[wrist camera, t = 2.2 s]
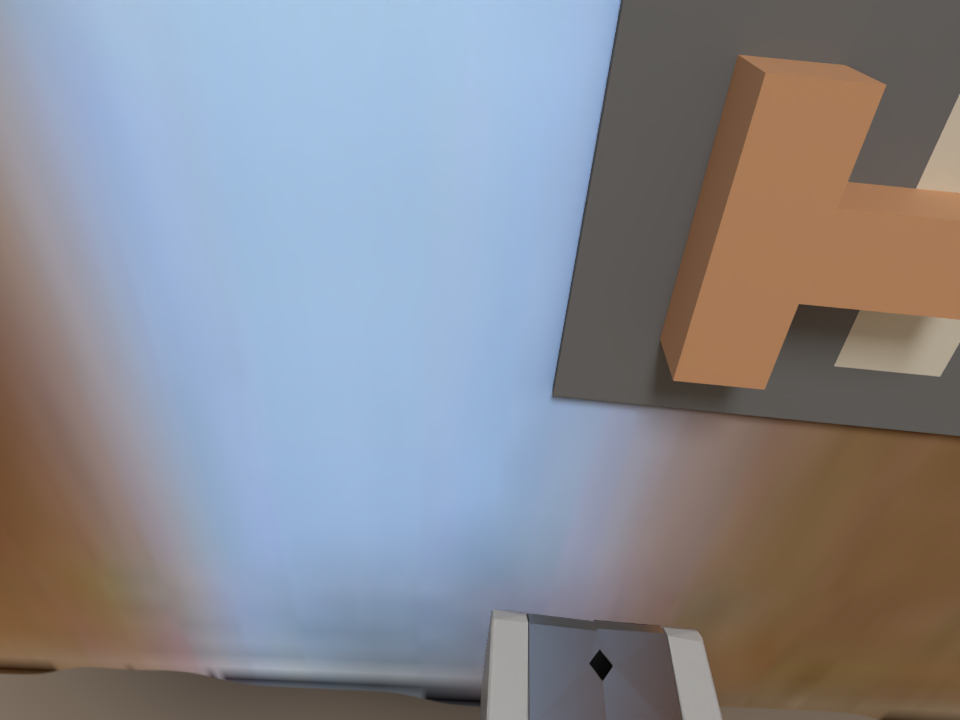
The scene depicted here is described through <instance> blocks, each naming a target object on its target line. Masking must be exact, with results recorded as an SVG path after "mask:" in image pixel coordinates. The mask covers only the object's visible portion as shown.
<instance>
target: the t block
mask: <svg viewBox="0 0 960 720" xmlns="http://www.w3.org/2000/svg"><path fill="white" fill-rule="evenodd" d="M885 87H886V84H884V83H882V82H880V81H878V80H875V79H873V78H871V77H869V76H867V75H865V74H863V73H861V72H859V71H857V70H854V69H852V68H850V67H848V66H846V65H839V64H829V63H819V62H808V61H798V60H788V59H778V58H767V57H757V56H747V55H738V57H737V61H736V64H735V68H734V72H733V75H732V79H731V82H730V86H729V90H728V93H727V97H726V101H725V104H724V108H723V112H722V115H721V119H720V122H719V126H718V130H717V133H716V137H715V141H714V144H713V148H712V152H711V155H710V159H709V162H708V166H707V170H706V173H705V177H704V181H703V184H702V188H701V192H700V195H699V199H698V202H697V206H696V210H695V213H694V217H693V221H692V224H691V228H690V232H689V235H688V239H687V242H686V246H685V250H684V253H683V257H682V261H681V264H680V268H679V271H678V275H677V279H676V282H675V286H674V290H673V293H672V297H671V301H670V304H669V308H668V311H667V315H666V319H665V322H664V326H663V330H662V333H661V337H660V341H661V344H662V347H663V350H664V353H665V356H666V360H667V363H668V366H669V369H670V372H671V376H672V379H673V381H681V382H692V383H702V384H712V385H722V386H732V387H742V388H752V389H763V390H765V387H766V385H767V382H768V380H769V377H770V375H771V372H772V370H773V367H774V365H775V362H776V360H777V357H778V355H779V352H780V350H781V347H782V345H783V342H784V340H785V337H786V335H787V332H788V330H789V327H790V325H791V322H792V320H793V317H794V315H795V312H796V310H797V307H798V305H799V304H805V305H815V306H825V307H835V308H845V309H855V310H866V311H876V312H886V313H896V314H906V315H917V316H927V317H937V318H947V319H957V320H960V193H956V192H946V191H936V190H925V189H915V188H905V187H895V186H885V185H874V184H864V183H854V182H848V180H849V177H850V175H851V172H852V170H853V167H854V165H855V162H856V160H857V157H858V155H859V152H860V150H861V147H862V145H863V142H864V140H865V137H866V135H867V132H868V130H869V127H870V125H871V122H872V120H873V117H874V115H875V112H876V110H877V107H878V105H879V102H880V100H881V97H882V95H883V92H884V90H885Z"/></svg>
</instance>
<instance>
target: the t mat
mask: <svg viewBox="0 0 960 720" xmlns="http://www.w3.org/2000/svg"><path fill="white" fill-rule="evenodd" d="M738 55H747V56H757V57H767V58H778V59H788V60H798V61H808V62H819V63H829V64H839V65H846V66H848V67H850V68H852V69H854V70H857V71H859V72H861V73H863V74H865V75H867V76H869V77H871V78H873V79H875V80H878V81H880V82H882V83H884V84H886V87H885V90H884V92H883V95H882V97H881V100H880V102H879V105H878V107H877V110H876V112H875V115H874V117H873V120H872V122H871V125H870V127H869V130H868V132H867V135H866V137H865V140H864V142H863V145H862V147H861V150H860V152H859V155H858V157H857V160H856V162H855V165H854V167H853V170H852V172H851V175H850V177H849V180H848V182H854V183H864V184H874V185H885V186H895V187H905V188H915V189H925V190H936V191H946V192H956V193H960V0H621V5H620V11H619V16H618V22H617V28H616V33H615V39H614V45H613V50H612V56H611V62H610V67H609V73H608V79H607V84H606V90H605V96H604V101H603V107H602V113H601V118H600V124H599V130H598V135H597V141H596V147H595V152H594V158H593V164H592V169H591V175H590V181H589V186H588V192H587V198H586V203H585V209H584V215H583V220H582V226H581V232H580V237H579V243H578V249H577V254H576V260H575V266H574V271H573V277H572V283H571V288H570V294H569V300H568V305H567V311H566V317H565V322H564V328H563V334H562V339H561V345H560V351H559V356H558V362H557V368H556V373H555V379H554V384H553V396H559V397H569V398H579V399H589V400H600V401H610V402H620V403H630V404H640V405H650V406H660V407H670V408H681V409H691V410H701V411H711V412H721V413H731V414H741V415H751V416H762V417H772V418H782V419H792V420H802V421H812V422H822V423H833V424H843V425H853V426H863V427H873V428H883V429H893V430H903V431H914V432H924V433H934V434H944V435H954V436H960V320H957V319H947V318H937V317H927V316H917V315H906V314H896V313H886V312H876V311H866V310H855V309H845V308H835V307H825V306H815V305H805V304H799V305H798V307H797V310H796V312H795V315H794V317H793V320H792V322H791V325H790V327H789V330H788V332H787V335H786V337H785V340H784V342H783V345H782V347H781V350H780V352H779V355H778V357H777V360H776V362H775V365H774V367H773V370H772V372H771V375H770V377H769V380H768V382H767V385H766V387H765V390H763V389H752V388H742V387H732V386H722V385H712V384H702V383H692V382H681V381H673V379H672V376H671V372H670V369H669V366H668V363H667V360H666V356H665V353H664V350H663V347H662V344H661V341H660V337H661V333H662V330H663V326H664V322H665V319H666V315H667V311H668V308H669V304H670V301H671V297H672V293H673V290H674V286H675V282H676V279H677V275H678V271H679V268H680V264H681V261H682V257H683V253H684V250H685V246H686V242H687V239H688V235H689V232H690V228H691V224H692V221H693V217H694V213H695V210H696V206H697V202H698V199H699V195H700V192H701V188H702V184H703V181H704V177H705V173H706V170H707V166H708V162H709V159H710V155H711V152H712V148H713V144H714V141H715V137H716V133H717V130H718V126H719V122H720V119H721V115H722V112H723V108H724V104H725V101H726V97H727V93H728V90H729V86H730V82H731V79H732V75H733V72H734V68H735V64H736V61H737V57H738Z"/></svg>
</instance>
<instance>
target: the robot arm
mask: <svg viewBox="0 0 960 720" xmlns="http://www.w3.org/2000/svg"><path fill="white" fill-rule="evenodd" d="M480 720H723V719H722V715H721V711H720V707H719V703H718V699H717V695H716V691H715V687H714V683H713V679H712V675H711V670H710V666H709V662H708V658H707V654H706V650H705V646H704V642H703V638H702V637H701V635H700V634H699V632H698V631H696V630H692V629H680V628H668V627H660V626H659V625H647V624H635V623H623V622H612V621H600V620H593V621H590V620H581V619H572V618H564V617H555V616H547V615H538V614H529V613H528V614H527V613H524V612H514V611H504V610H494V609H493V610H492V612H491V619H490V626H489V632H488V639H487V646H486V653H485V662H484V671H483V680H482V692H481V708H480Z"/></svg>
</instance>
